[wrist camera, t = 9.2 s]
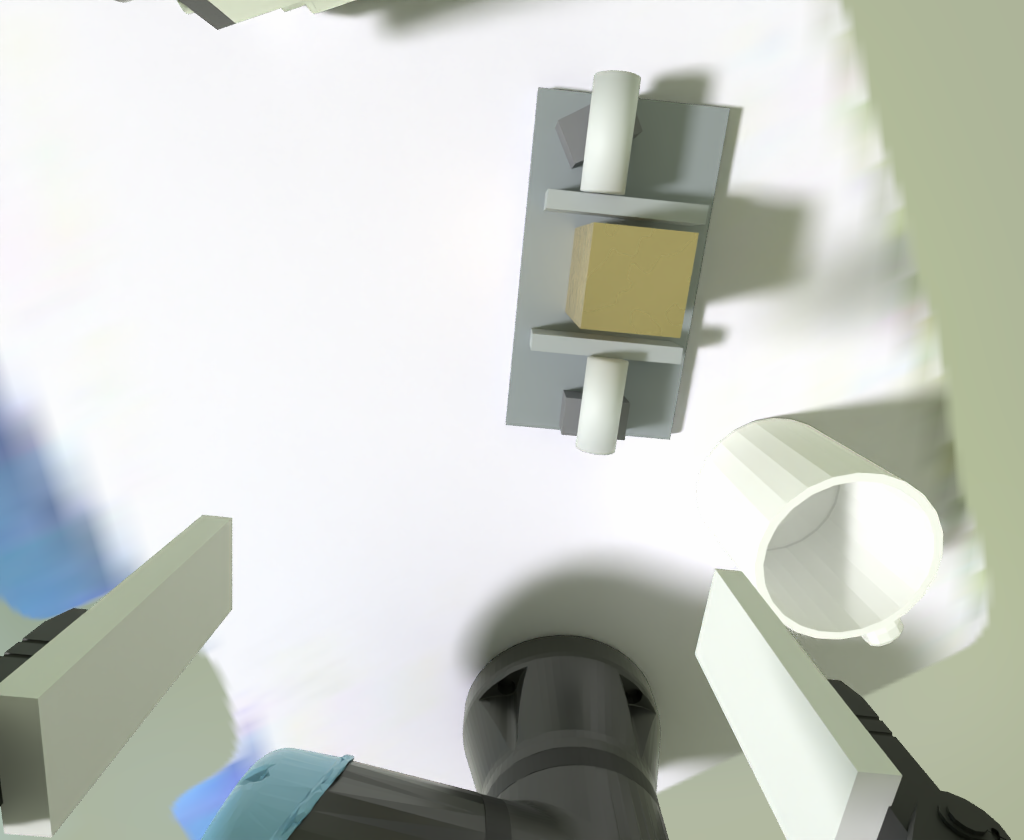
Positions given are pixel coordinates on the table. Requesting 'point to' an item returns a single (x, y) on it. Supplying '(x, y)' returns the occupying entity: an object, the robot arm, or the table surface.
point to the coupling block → (630, 279)
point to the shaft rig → (613, 200)
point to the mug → (820, 530)
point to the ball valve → (247, 8)
